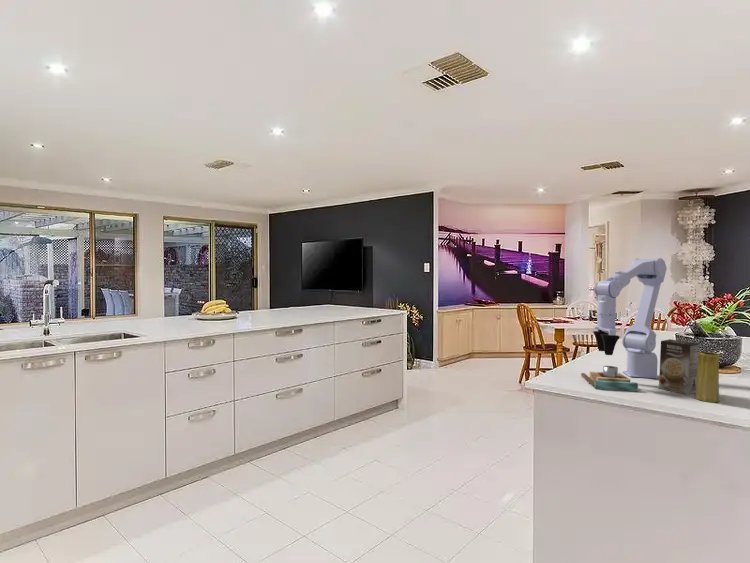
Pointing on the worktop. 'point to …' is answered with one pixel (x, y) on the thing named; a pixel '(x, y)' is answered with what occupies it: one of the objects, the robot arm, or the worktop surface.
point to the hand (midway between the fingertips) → (605, 353)
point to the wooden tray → (600, 377)
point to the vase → (707, 377)
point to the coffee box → (678, 366)
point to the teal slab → (611, 384)
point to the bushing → (610, 371)
